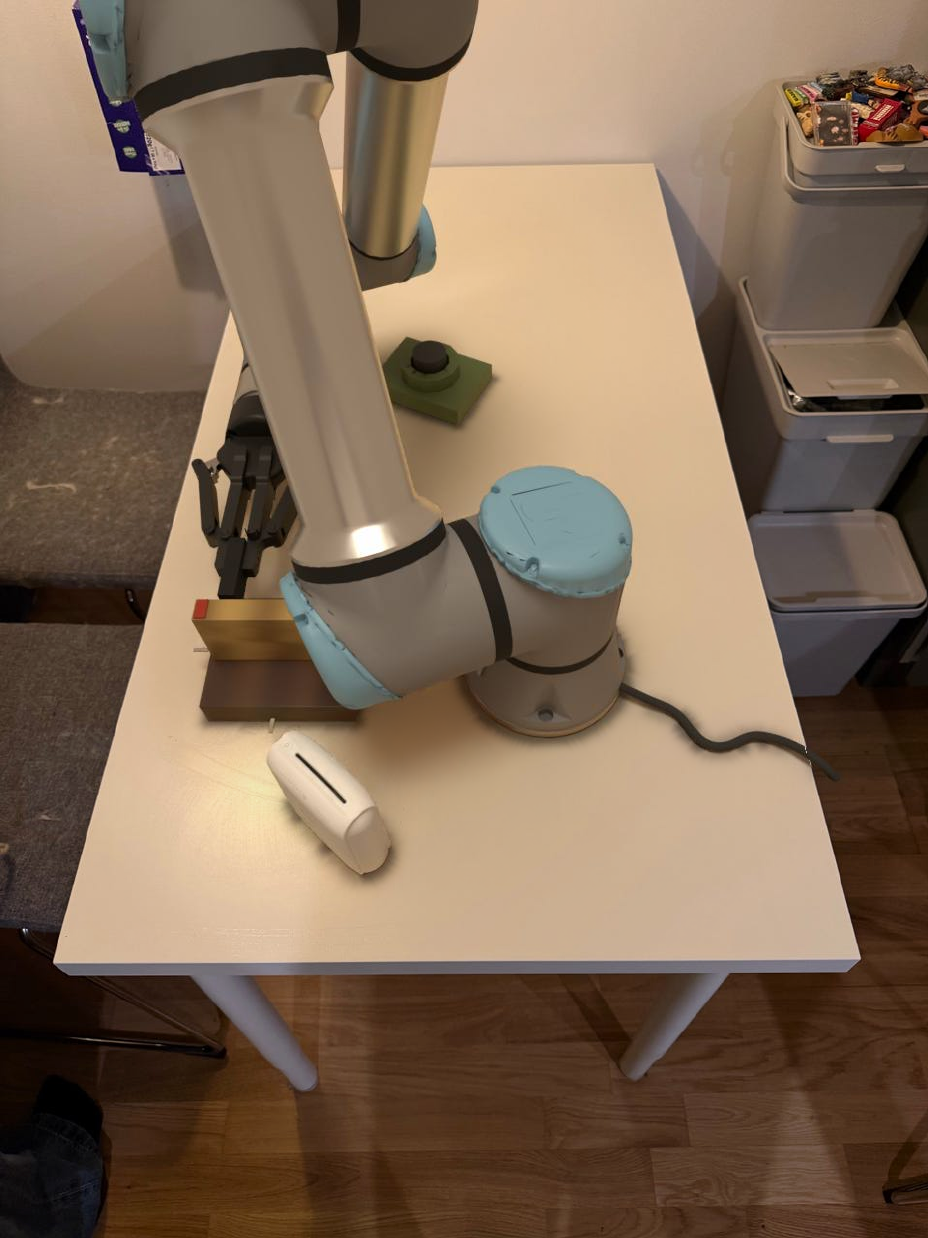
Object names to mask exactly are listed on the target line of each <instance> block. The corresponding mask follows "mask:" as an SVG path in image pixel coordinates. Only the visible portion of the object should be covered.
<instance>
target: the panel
mask: <svg viewBox="0 0 928 1238" xmlns="http://www.w3.org/2000/svg"><path fill="white" fill-rule="evenodd" d="M244 599H284V598H283V597H277V598H276V597H275V598H274V597H267V598H266V597H263V598H261V597H260V598H259V597H257V598H256V597H255V598H253V597H252V598H247V597H244ZM192 652H194V653H208V652H209V650H208V649H207V647H193V651H192ZM205 672H206V673H205V677H204V682H203V687H202V692H201V697H200V701H199V706H198V707H199V709H200V710H201V712H202V713H203V715H204V716H205V718H206V719H207V721H208V722H269V725H268V734H273V733H274V727H275V722H356V721H357V714H358V709H349V708H346V707H344V706H342V705H341V704H340V703H338V702H337V701H336V700H335V698H334V697H333V696H332V694H331V693H330V691H329V690H328V688H327V686H326V685H325V683H324V681H323V679H322V678H321V676H320V674H319V672H318V670H317V668H316V666H315V665H314V663H313V661H312V660H214V659H213V657H212V656H211V654H210V653H209V657H208V663H207V668H206V671H205Z"/></svg>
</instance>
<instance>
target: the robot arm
mask: <svg viewBox="0 0 928 1238" xmlns="http://www.w3.org/2000/svg"><path fill="white" fill-rule="evenodd" d="M479 3H480V0H78V4H79V8H80V12H81V16H82V19H83V23H84V26H85V29H86V33H87V37H88V41H89V45H90V48H91V52H92V56H93V61H94V65H95V69H96V71H97V72H96V73H97V75H98V78H99V79H98V80H99V82H100V84H101V86H102V90H103V93H104V94H105V96H106V97H108V98H109V99H110V100H113V101H120V102H121V103H127V102H130V101H132V100H133V102H134V106H135V109H136V111H137V114H138V117H139V120H140V123H141V127H142V129H143V131H144V133H145V134H146V135H147V136H149V137H151V138H152V139H153V140H155V141H157V143H160V144H161V145H163V146H164V147H165V148H166V149H168V150H170V151H171V152H173V153H174V155H176V156H177V158H179V160H180V162H181V164H182V167H183V171H184V173H185V176H186V177H185V178H186V180H187V183H188V185H189V189H190V191H191V195H192V198H193V200H194V201H193V202H194V204H195V207H196V210H197V213H198V216H199V219H200V222H201V225H202V228H203V231H204V234H205V237H206V240H207V243H208V246H209V248H210V252H211V255H212V258H213V261H214V264H215V267H216V271H217V274H218V276H219V280H220V283H221V285H222V289H223V292H224V295H225V298H226V299H227V300H226V301H227V303H228V306H229V307H228V308H229V310H230V313H231V316H232V319H233V321H234V326H235V329H236V332H237V335H238V339H239V341H240V345H241V348H242V353H243V358H242V362H241V368H240V373H239V377H238V380H237V381H238V382H237V385H236V389H235V393H234V396H233V400H232V405H231V409H230V413H229V418H228V422H227V426H226V430H225V436H224V441H223V442H224V443H223V444H222V445H221V447H220V448H218V450H217V451H216V455H215V456H216V457H213V458H210V459H209V460H207V461H204V460H203V459H202V458H195V459H192V461H191V463H190V465H191V468H192V470H193V472H194V474H195V477H196V479H197V481H198V482H197V483H198V496H199V498H198V499H199V510H200V511H199V512H200V513H199V514H200V526H201V532H202V533H203V536H204V537H205V540H206V542H207V544H208V546H209V547H210V548H211V549H216V548H217V550H216V555H215V559H214V563H213V565H214V569H215V571H216V573H217V575H218V577H219V578H220V579H219V585H218V589H217V593H216V594H217V595H216V596H217V599H244V598H245V595H246V589H247V583H248V580H249V579H251V578H252V579H253V578H257V577H258V575H259V574H260V573H259V572H260V567H261V563H262V562H261V561H262V557H263V552H264V551H265V550H266V549H268V548H271V547H273V548H275V549H279V548H282V547H284V545H285V543H286V541H287V539H288V537H289V534H290V533H291V530H292V529H293V528H292V527H293V526H294V524H295V522H296V520H297V517H299V522H300V525H299V529H298V531H297V532H296V534H295V536H294V538H293V539H292V541H291V542H290V545H289V547H288V556H289V558H290V561H291V564H292V568H293V570H290V571H288V572H287V573H286V574H285V575H284V576H282V577H281V578H280V580H279V582H278V585H279V589H280V594H281V596H282V598H284V601H285V603H286V606H287V608H288V610H289V613H290V614H291V616H292V618H293V619H294V622H295V625H296V627H297V629H298V631H299V634H300V636H301V638H302V640H303V643H304V645H305V647H306V649H307V651H308V653H309V655H310V657H311V659H312V661H313V663H314V665H315V666H316V668H317V670H318V672H319V674H320V676H321V678H322V679H323V681H324V683H325V685H326V686H327V688H328V690H329V691H330V693H331V694H332V696H333V697H334V698H335V700H336V701H337V702H338V703H340V704H341V705H342V706H344V707H346V708H349V709H357V710H362V709H367V708H369V707H373V706H376V705H380V704H382V703H386V702H389V701H395V702H397V701H398V702H399V701H400V700H402V699H403V698H404V697H406V696H407V695H411V694H413V693H417V692H419V691H422V690H425V689H427V688H430V687H433V686H436V685H438V684H441V683H445V682H447V681H450V680H452V679H456V678H458V677H461V676H464V675H465V678H466V682H467V685H468V688H469V691H470V694H471V695H472V697H473V698H474V700H475V702H476V703H477V705H478V706H479V707H480V708H481V710H482V711H483V712H484V713H486V715H488V716H489V717H490V718H491V719H492V720H493V721H495V722H496V723H498V724H499V725H501V726H503V727H505V728H507V729H509V730H510V731H513V732H516V733H519V734H523V735H526V736H532V737H541V738H555V737H562V736H567V735H571V734H574V733H577V732H580V731H583V730H585V729H586V728H588V727H591V726H592V725H593V724H595V723H596V722H597V721H599V720H600V719H601V718H603V716H605V715H606V714H607V713H608V711H610V709H611V708H612V707H613V706H614V703H615V702H616V700H617V698H618V696H619V695H620V693H623V694H625V695H627V696H629V697H632V698H634V699H636V700H638V701H640V702H642V703H644V704H646V705H649V706H650V707H654V708H656V709H658V710H661V711H662V712H665V713H666V714H668V715H670V716H672V717H673V718H675V720H677V721H678V723H679V724H680V725H681V726H682V727H683V728H684V730H685V731H686V733H687V734H688V735H689V737H690V738H691V739H692V740H693V741H694V742H695V743H696V744H698V745H699V746H701V747H702V748H704V749H706V750H710V751H714V752H727V751H730V750H733V749H735V748H737V747H740V746H742V745H745V744H746V743H748V742H752V741H762V742H767V743H771V744H775V745H778V746H782V747H784V748H787V749H789V750H791V751H793V752H795V753H797V754H799V755H801V756H802V757H804V758H805V759H807V760H808V761H810V762H811V763H813V764H814V766H816V767H817V768H818V769H820V770H821V771H822V772H823V773H824V774H825V775H826V776H827V778H829V780H831V781H832V782H835V783H838V782H840V781H841V777H840V775H839V774H838V772H837V771H836V770H835V769H834V767H832V766H831V765H830V764H829V763H828V761H826V760H825V759H824V758H822V757H821V756H820V755H819V754H818V753H816V752H814V751H813V750H811V749H810V748H809V747H807V746H805V745H803V744H801V743H800V742H797V741H796V740H793V739H791V738H788V737H786V736H783V735H781V734H776V733H772V732H768V731H763V730H760V731H759V730H754V731H748V732H747V731H746V732H744V733H742V734H740V735H737V736H735V737H733V738H731V739H728V740H725V741H714V740H710V739H708V738H707V737H705V736H703V734H702V733H700V731H698V729H697V728H696V727H695V726H694V724H693V723H692V721H691V720H690V719H689V718H688V717H687V715H686V714H685V713H683V712H682V711H681V710H680V709H679V708H677V707H676V706H674V705H672V704H670V703H668V702H667V701H664V700H662V699H659V698H657V697H654V696H653V695H650V694H648V693H645V692H643V691H641V690H639V689H637V688H635V687H633V686H630V685H628V684H626V683H624V679H625V678H624V677H625V672H626V653H625V647H624V642H623V639H622V637H621V634H620V631H619V628H618V626H617V619H618V615H619V612H620V606H621V602H622V597H623V593H624V591H625V590H624V589H625V586H626V581H627V579H628V578H629V576H630V573H631V569H632V565H633V556H632V553H633V542H634V541H633V540H634V538H633V533H634V532H633V526H632V521H631V519H630V516H629V514H628V512H627V510H626V507H625V506H624V505H623V503H622V502H621V501H620V499H619V498H618V497H617V496H616V494H614V493H613V491H611V489H609V487H607V486H606V485H604V484H603V483H602V482H600V481H598V480H597V479H595V478H594V477H592V476H589V475H582V474H579V473H578V472H577V471H576V470H574V469H572V468H567V467H563V466H558V465H557V466H556V465H532V466H527V467H522V468H519V469H515V470H513V471H510V472H509V473H506V474H505V475H503V476H502V477H500V478H499V479H497V480H496V481H495V482H494V483H493V484H492V485H491V486H490V488H489V491H488V493H487V494H485V495H484V497H483V498H482V500H481V501H480V504H479V510H478V513H476V514H472V515H469V516H466V517H463V518H459V519H455V520H453V521H450V522H447V523H445V521H444V517H443V513H442V511H441V508H440V506H438V505H437V504H436V503H434V502H432V501H431V500H428V499H427V498H425V497H424V496H422V495H421V494H418V493H417V491H416V489H415V488H414V484H413V480H412V476H411V472H410V468H409V465H408V460H407V458H406V454H405V450H404V446H403V442H402V439H401V435H400V430H399V426H398V423H397V419H396V415H395V412H394V408H393V404H392V402H391V400H390V396H389V392H388V388H387V385H386V381H385V377H384V373H383V370H382V363H381V359H380V354H379V351H378V346H377V343H376V340H375V336H374V331H373V329H372V325H371V320H370V317H369V314H368V313H369V312H368V309H367V306H366V302H365V298H364V295H363V292H366V291H371V290H373V289H379V288H382V287H386V286H390V285H394V284H401V283H406V282H408V281H410V280H411V279H414V278H417V277H420V276H422V275H426V274H428V273H430V272H432V271H433V269H434V268H435V266H436V263H437V259H438V258H437V257H438V256H437V249H436V248H437V239H436V238H437V237H436V233H435V229H434V225H433V221H432V219H431V216H430V214H429V211H428V209H427V207H426V206H425V205H424V199H425V198H424V197H425V192H426V188H427V184H428V179H429V174H430V169H431V164H432V159H433V154H434V150H435V145H436V144H435V143H436V139H437V135H438V130H439V124H440V120H441V114H442V109H443V105H444V100H445V95H446V91H447V85H448V81H449V76H450V73H451V72H452V71H454V70H455V69H456V68H457V67H458V66H459V65H460V63H461V62H462V61H463V59H464V57H465V56H466V54H467V52H468V50H469V48H470V44H471V41H472V37H473V33H474V30H475V26H476V25H475V24H476V21H477V16H478V11H479ZM340 53H345V82H344V84H345V85H344V120H343V123H344V124H343V157H342V158H343V159H342V189H341V190H342V192H341V196H342V197H341V206H340V204H339V199H338V196H337V192H336V188H335V184H334V181H333V177H332V173H331V169H330V165H329V162H328V158H327V154H326V150H325V147H324V143H323V139H322V134H321V131H320V120H321V117H322V115H323V112H324V111H325V110H326V109H325V108H326V106H327V105H328V102H329V100H330V98H331V96H332V93H333V92H334V90H335V84H334V80H333V76H332V72H331V68H330V64H329V60H328V56H332V55H335V54H340ZM221 471H223V473H224V474H225V476H226V477H227V478H228V480H229V483H230V484H229V488H228V493H227V496H226V501H225V506H224V510H223V514H222V518H221V523H220V511H219V509H220V508H219V497H218V489H217V487H216V484H217V485H218V483H219V480H218V479H219V478H220V472H221ZM285 480H286V482H287V484H286V486H285V488H284V490H283V492H282V495H281V496H280V498H279V500H278V502H277V504H276V507H275V509H274V511H273V506H274V501H276V498H277V493H278V488H279V486H280V485H281V484H283V482H285ZM253 491H254V493H253ZM252 495H253V498H252ZM251 498H252V502H251V508H250V512H249V517H248V522H247V528H246V527H244V524H245V518H246V513H247V509H248V504H249V501H251ZM272 511H273V512H272ZM243 527H244V528H243ZM243 529H244V533H245V536H246V537H244V536H243V537H242V532H243ZM805 747H806V750H805ZM806 751H807V753H806Z"/></svg>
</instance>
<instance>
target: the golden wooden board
mask: <svg viewBox="0 0 928 1238" xmlns="http://www.w3.org/2000/svg"><path fill="white" fill-rule="evenodd" d="M191 622H192V623H193V626H194V627H195V629H196V631H197V633H198V635H199V637H200V638H201V640H202V642H203V643H204V645H205V648H207V649H208V652H209V655H210V654H211V656H212V657H213V659H214V660H312V659H311V657H310V655H309V653H308V651H307V649H306V647H305V645H304V643H303V640H302V638H301V636H300V634H299V631H298V629H297V627H296V625H295V622H294V619H293V618H292V616H291V614H290V613H289V610H288V608H287V606H286V603H285V601H284V599H219V598H217V599H210V598H209V599H208V598H202V599H201V598H200V599H199V598H197V599H196V600H195V602H194V607H193V611H192V615H191Z"/></svg>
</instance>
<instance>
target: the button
mask: <svg viewBox="0 0 928 1238" xmlns="http://www.w3.org/2000/svg"><path fill="white" fill-rule="evenodd" d="M440 342H441V341H438V342H437V340H424V341H422V342H420V343H418V344H417V345H416V346H415V347H414V348H413V351H412V356H413V365H414V368H415V369H416V370H417V371H418V372H421V373H424V374H436V373H438V372H440V371H442V370H443V369H444V368H445V367H446V365H447V355H446V348H445V346H444V345H443V344H441V343H442V342H441V343H440Z"/></svg>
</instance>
